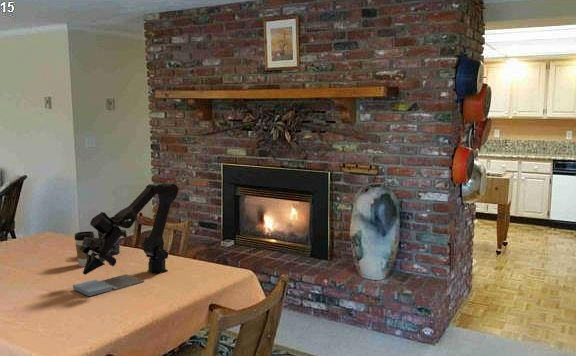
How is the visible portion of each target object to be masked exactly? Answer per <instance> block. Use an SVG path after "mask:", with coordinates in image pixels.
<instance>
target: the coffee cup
mask: <svg viewBox="0 0 576 356" xmlns="http://www.w3.org/2000/svg"><path fill="white" fill-rule="evenodd" d="M94 233H95V232H94V231H79V232H75V234H74V240H75V249H76V256H77V262H78V264H77V265H78V266H79V267H81V268H82V267H84V268H85V265H86V262H87V256H86V254H84V253H83V252H82V251H80V250H79V249H80V248H81V246H83V245H82V243H83V240H84V237H87V238H91V239H94V238H95V234H94Z"/></svg>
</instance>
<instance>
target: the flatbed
mask: <svg viewBox="0 0 576 356" xmlns="http://www.w3.org/2000/svg"><path fill="white" fill-rule="evenodd" d="M99 281H100V282H102V283H105V284H107V285H109V286H112V290H113V291H117V290H121V289H122V290H123V289H125V288H128V287H132V286H135V285H139V284H143V283H145V281H144V280H143V279H139V278H137V277H135V276H133V275H130V274H127V273H126V274H121V275H119V276H118V275H117V276H114V277H111V278H107V279H102V280H99Z"/></svg>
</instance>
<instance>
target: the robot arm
mask: <svg viewBox="0 0 576 356" xmlns="http://www.w3.org/2000/svg"><path fill="white" fill-rule="evenodd" d="M178 194H179V187H178V185H177V184H175V183H170V182H162V183H161V184H153V183H149V184H147V185H146V186H145V188H144V189H143V190H142V192H141V193H140V194H139V195H137V197H136V198H135V199H134V200H133V201H132V202H131V203H130V204H129V205H128V206H126V207H124V208H123V209H121V210H119V211H118V212H117V213H116V214H114V216H112V217H110V216H109V215H107V213H106V212H104V211H103V212H102V211H100V213H98V214H97V215H95V216H94V217H92V218H91V220H90V226H91V227H93V228H94V229H95V230H96V231H97V233H98V232H100V233H101V234H104V233H105V234H104V236H103V237H102V238H100V237H99V236H98V237H94V239H91V238H87V237H84V240H83V243H82V245H83V246H81V248H80V249H79V250H80V251H82V252H83V253H84V254H86V256H87V262H86V265H85V267H84V269H83V271H82V274H83V275H84V276H85V275H87V274H90V273H92V272H93V271H95V270H96V269H98V268H100V267H102V266H105V265H106V264H105V262H106V263H108V265H109V266H111V267H115V265H116V264H117V258H116V257H114V256H112V255H110V254H109V252H110V251H111V249H115V248H116V247H115V246H114V245H115V244H116V243H117V241H118V240H119V241H120V238H121V237H123V238H125V239H126V238H127V230H125V229H130V228H131V227H132V226H133V225H134V223H135V222H136V221H137V218H138V215H139V214H140V212H141V211H142V210H143V209H144V207H146V205H147V204H148V203H150V201H152V199H153V198H154V197H155V196H156V195H157V198H158V206H157V209H156V214H155V217H154V220H153V226H152V229H151V233H150V234H149V236H145V237H144V240H143V244H142V251H143V253H144V254H145V256H146V258H148V264H147V265H148V269H147V271H146V272H148V273H150V274H154V275H159V274H162V273H167V272H168V270H169V269H167V268H166V260H167V259H168V258H169V253H168V251H166V250H165V249H164V248H165V246H164V245H165V241H164V238H163V235H164V232H165V228H166V223H167V220H168V216H169V212H170V208H171V204H173V203H174V201H175V200H176V198H177V196H178ZM113 225H116V226H118V227H114V226H113ZM121 228H123V229H121Z"/></svg>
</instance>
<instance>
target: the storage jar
mask: <svg viewBox="0 0 576 356" xmlns="http://www.w3.org/2000/svg"><path fill="white" fill-rule="evenodd" d="M113 226H114V227H118V226H116V225H113ZM104 234H105V233H104ZM104 234H101V233H100V232H98V231H97V236H98V238H99V237H100V238H102V237H103V236H104ZM114 246H115V247H116V248H115V249H111V251H110V252H109V254H110V255H112V256H113V257H114V256H117V255H119V254H120V252H121V251H120V250H121V249H120V246H121V245H120V239H119V240H118V241H117V243H116V244H115V245H114Z"/></svg>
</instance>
